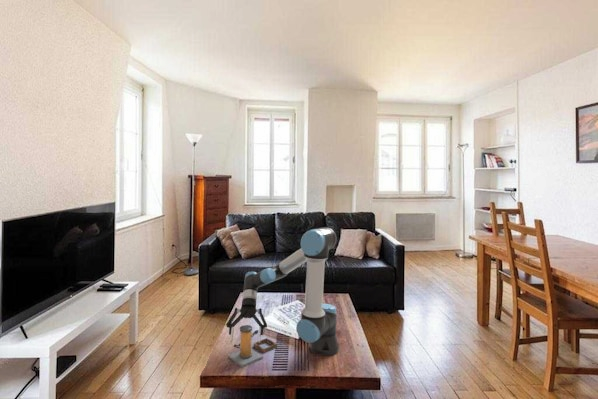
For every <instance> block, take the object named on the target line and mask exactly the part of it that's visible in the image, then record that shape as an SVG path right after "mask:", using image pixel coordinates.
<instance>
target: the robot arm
mask: <svg viewBox="0 0 598 399" xmlns="http://www.w3.org/2000/svg"><path fill="white" fill-rule="evenodd" d="M300 238H301V239H300V248H299V249H297V250H296V251H295V252H293V253H292V254H291V255H289V256H287V257H286V258H285V259H283V260H281V261H280V262H279V263H277V264H276V265H275V266H272V267H268V268H265V269H262V270H261V271H259V272H256V271H248V272H246V273H245V276H244V279H243V280H244V281H243V282H244V283H243V292H242V300H241V308H238V307H235V308H234V311H233V313H232V315H231V316H230V318H229V319H228V321H227V322H226V324H225V325H226V327H227V328H229V329H228V335H229V336H230V339H229V342H230V343H231V344H232V343H233V339H234V338H233V337H234V330H235V328H234V327H235V326H236V325H237V324H238V323H239V322H241V320H243V319H251V318H252V319H253V320H254V321H255V323H256V324H257V325H258V326H259V328H258V339H257V340H258V341H257V342H259V343H260V341H261V337H262V336H263V335H264V329H267V328H268V324H267V322H266V319H265V317H264V314H263V311H262V308H259V309H257V299H258V289H259V288H261V287H263V286H266V285H269V284H271V283H273V282H276V281H278V280H280V279H281V280H282V279H283V278H285V277H286V276H288V274H289V273H292V272H293V271H294V270H296V269H297V268H299V267H300V266H302V265H303V264H305V263H306V277H305V293H304V294H305V296H304V308H302V310H301V314H300V319H299V321H298V322H297V323H296V333H297V334H298V337H300V339H301V340H302V341H304V342H305V343H310V345H309V348H310V351H311V352H312V353H314V354H316V355H319V356H334V355H336V354H338V352H339V351H340V344H339V341H338V338H337V337H338V336H337V314H338V313H337V312H338V311H337V307H336V306H335V305H333V304H330V303H323V302H324V284H325V283H324V282H325V267H326V266H325V265H326V263H325V262H326V260H328V259H329V253H330V250H331V249H333V248H334V247H335V245H336V244H337V234H336V232H335V230H333V229H332V228H330V227H327V226H324V227H318V228H313V229H309V230H307V231H306V232H305V233H303V234H302V237H300ZM239 313H240V314H239ZM256 313H257V314H259V317H260V319H261V320H260V319H259V318H258V316H257V315H256ZM238 314H239V315H238ZM237 315H238V316H237ZM236 316H237V318H236ZM261 321H262V322H261Z"/></svg>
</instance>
